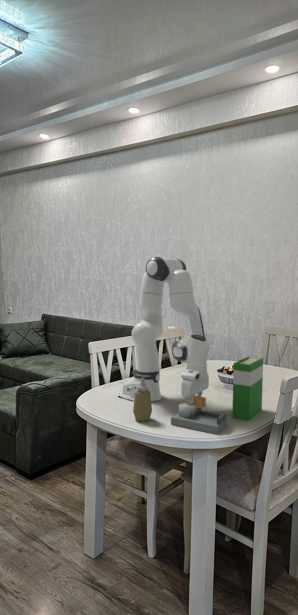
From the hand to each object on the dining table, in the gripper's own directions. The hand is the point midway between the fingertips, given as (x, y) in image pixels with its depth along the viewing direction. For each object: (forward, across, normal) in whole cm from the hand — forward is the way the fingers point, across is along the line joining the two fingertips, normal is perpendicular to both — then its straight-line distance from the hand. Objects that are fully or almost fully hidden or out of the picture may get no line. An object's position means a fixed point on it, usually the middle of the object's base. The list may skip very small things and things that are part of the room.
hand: (195, 402), depth 179 cm
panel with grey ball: (+5, +12, +8) cm, 15 cm away
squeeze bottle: (+6, +20, -15) cm, 25 cm away
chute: (+2, 0, 0) cm, 2 cm away
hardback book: (+4, -13, +20) cm, 24 cm away
